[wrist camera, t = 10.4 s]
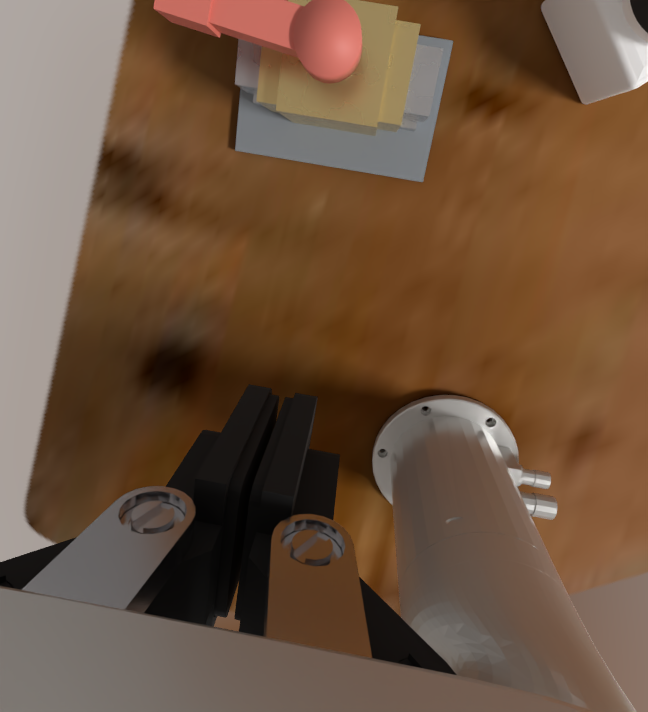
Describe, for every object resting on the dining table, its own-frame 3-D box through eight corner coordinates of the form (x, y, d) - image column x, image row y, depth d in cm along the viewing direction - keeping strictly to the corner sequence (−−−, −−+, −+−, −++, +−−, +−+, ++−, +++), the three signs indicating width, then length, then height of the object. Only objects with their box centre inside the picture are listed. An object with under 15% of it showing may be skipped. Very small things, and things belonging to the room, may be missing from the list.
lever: (351, 91, 26) (349, 84, 24) (169, 33, 25) (151, 21, 23) (370, 22, 25) (371, 8, 22) (180, -40, 24) (163, -60, 22)
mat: (451, 43, 34) (453, 40, 33) (422, 181, 37) (422, 182, 36) (249, 10, 34) (247, 7, 33) (237, 150, 37) (235, 150, 37)
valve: (436, 47, 33) (462, -2, 24) (416, 143, 35) (433, 132, 26) (261, 18, 34) (221, -40, 24) (251, 115, 36) (211, 95, 27)
